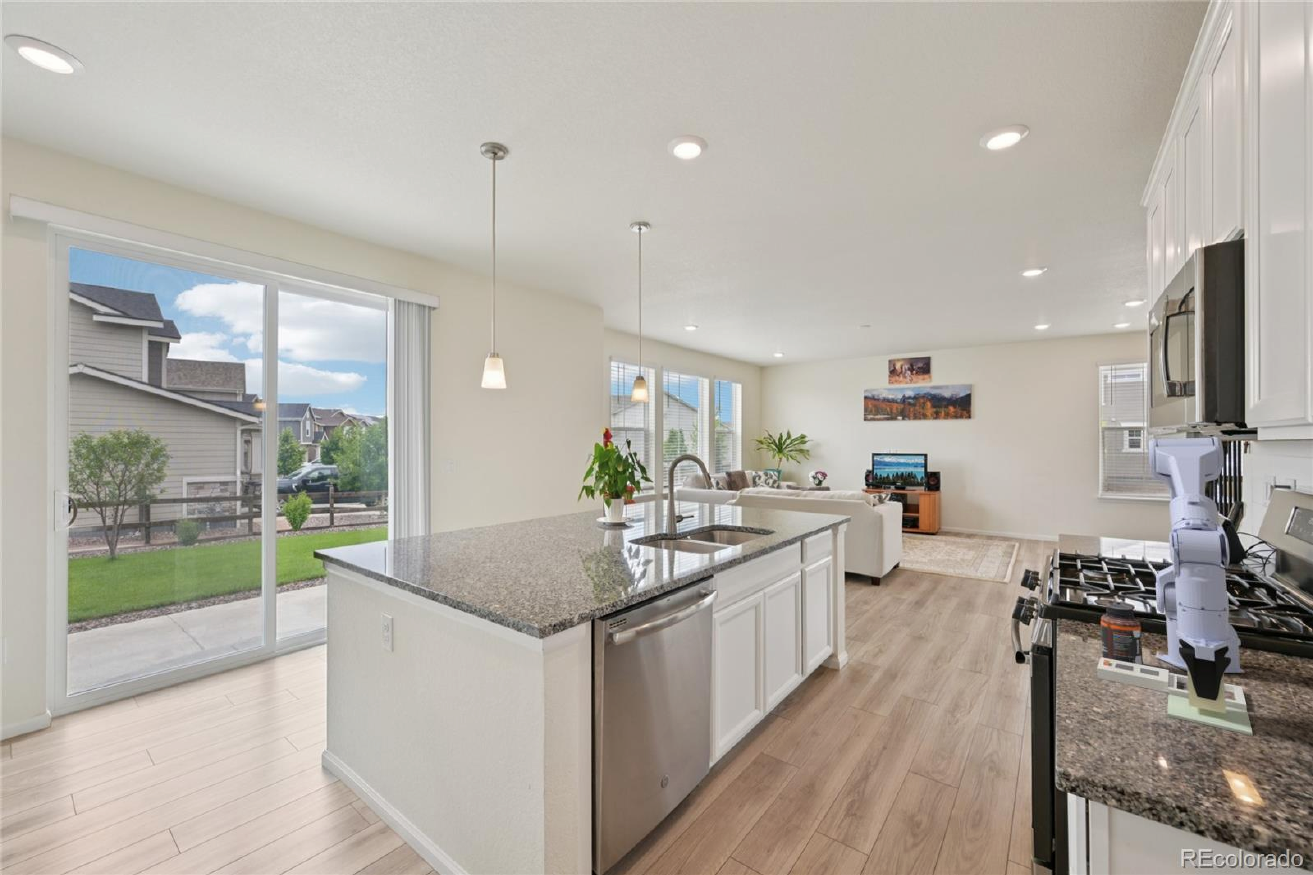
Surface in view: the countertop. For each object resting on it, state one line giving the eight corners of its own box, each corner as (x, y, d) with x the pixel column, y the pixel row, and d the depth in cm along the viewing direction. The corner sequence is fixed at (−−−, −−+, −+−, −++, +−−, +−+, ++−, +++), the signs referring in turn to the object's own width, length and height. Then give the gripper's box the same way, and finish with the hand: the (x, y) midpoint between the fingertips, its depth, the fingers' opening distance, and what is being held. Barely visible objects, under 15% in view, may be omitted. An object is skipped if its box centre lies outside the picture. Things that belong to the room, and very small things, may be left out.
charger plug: (1224, 704, 85) (1222, 665, 85) (1226, 713, 82) (1223, 673, 82) (1188, 697, 88) (1186, 659, 88) (1189, 705, 85) (1187, 666, 85)
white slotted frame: (1242, 692, 92) (1241, 679, 92) (1246, 711, 86) (1245, 697, 86) (1102, 665, 105) (1101, 653, 105) (1096, 679, 99) (1096, 667, 99)
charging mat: (1168, 696, 91) (1168, 694, 91) (1247, 713, 85) (1247, 711, 85) (1167, 715, 85) (1167, 713, 85) (1252, 735, 79) (1252, 732, 79)
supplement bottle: (1151, 672, 101) (1148, 611, 102) (1114, 670, 103) (1111, 610, 103) (1130, 660, 107) (1127, 602, 108) (1095, 658, 108) (1093, 601, 109)
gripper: (1242, 621, 78) (1247, 718, 77) (1235, 600, 88) (1239, 685, 88) (1174, 612, 83) (1179, 703, 82) (1174, 593, 93) (1179, 674, 92)
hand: (1206, 693), depth 85 cm, fingers closed on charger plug, 4 cm apart
